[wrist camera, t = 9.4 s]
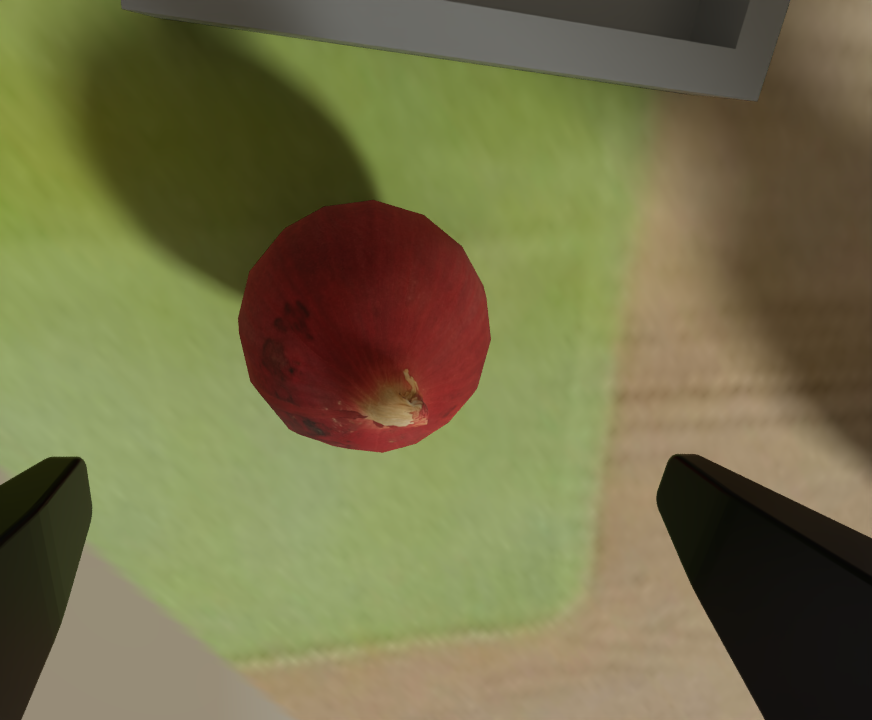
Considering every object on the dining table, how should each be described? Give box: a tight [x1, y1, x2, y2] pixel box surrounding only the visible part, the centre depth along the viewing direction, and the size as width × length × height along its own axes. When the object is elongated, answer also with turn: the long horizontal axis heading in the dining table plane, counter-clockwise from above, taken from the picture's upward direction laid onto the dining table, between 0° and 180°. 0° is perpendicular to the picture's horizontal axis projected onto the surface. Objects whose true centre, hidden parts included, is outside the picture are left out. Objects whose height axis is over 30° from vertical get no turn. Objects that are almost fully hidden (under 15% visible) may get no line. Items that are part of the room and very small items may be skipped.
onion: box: [238, 200, 491, 453], centre depth 14 cm, size 6×6×8 cm
